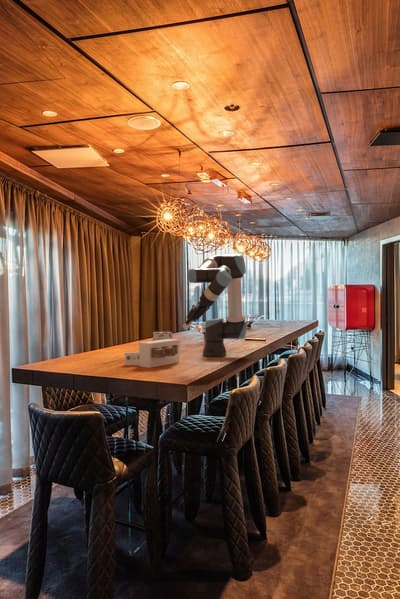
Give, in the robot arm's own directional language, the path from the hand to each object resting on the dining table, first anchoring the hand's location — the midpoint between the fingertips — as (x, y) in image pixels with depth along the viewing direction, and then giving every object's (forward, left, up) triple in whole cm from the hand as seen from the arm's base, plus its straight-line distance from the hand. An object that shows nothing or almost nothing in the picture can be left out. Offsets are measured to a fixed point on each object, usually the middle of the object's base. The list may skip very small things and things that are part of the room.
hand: (184, 328), depth 246 cm
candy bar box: (+2, -35, -22) cm, 41 cm away
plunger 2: (+2, -22, -16) cm, 27 cm away
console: (+9, -17, -21) cm, 29 cm away
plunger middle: (+6, -13, -16) cm, 22 cm away
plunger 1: (+13, -9, -16) cm, 23 cm away
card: (+23, -20, -21) cm, 37 cm away
